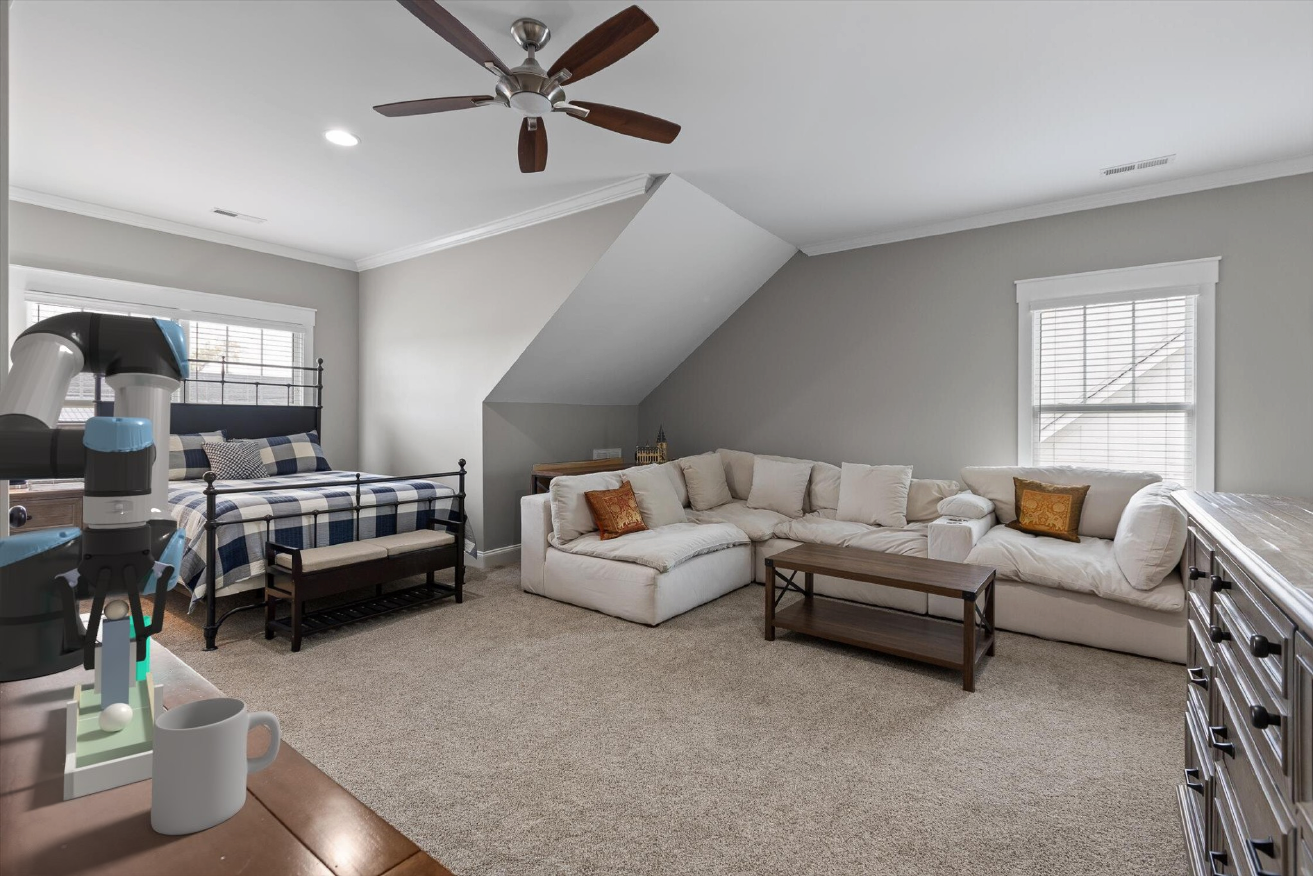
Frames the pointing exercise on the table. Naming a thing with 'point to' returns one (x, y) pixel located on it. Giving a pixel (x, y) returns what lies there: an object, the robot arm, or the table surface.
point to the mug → (204, 763)
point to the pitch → (122, 743)
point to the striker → (115, 654)
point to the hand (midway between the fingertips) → (115, 687)
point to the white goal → (104, 772)
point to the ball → (115, 717)
